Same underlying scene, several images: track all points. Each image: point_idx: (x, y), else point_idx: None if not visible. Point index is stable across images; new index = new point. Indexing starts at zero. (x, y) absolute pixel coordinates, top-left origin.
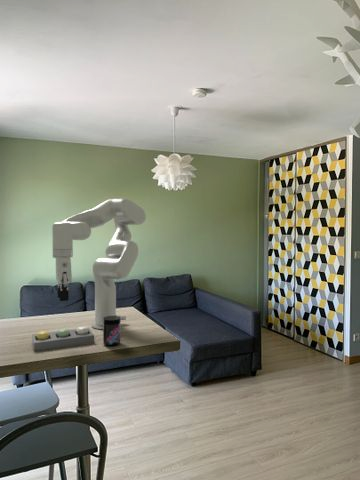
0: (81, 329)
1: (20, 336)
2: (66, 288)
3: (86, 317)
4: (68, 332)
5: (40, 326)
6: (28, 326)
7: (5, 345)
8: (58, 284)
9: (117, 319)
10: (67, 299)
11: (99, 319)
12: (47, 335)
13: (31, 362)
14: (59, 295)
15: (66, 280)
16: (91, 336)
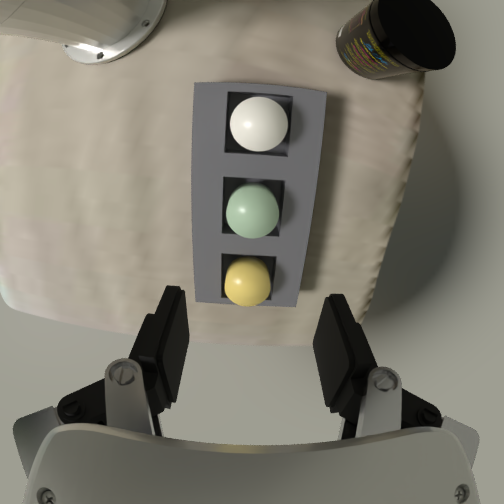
0: (281, 134)
1: (132, 304)
2: (410, 397)
3: (3, 91)
4: (267, 191)
5: (49, 242)
6: (47, 272)
7: (202, 341)
8: (163, 436)
9: (451, 28)
10: (341, 303)
11: (117, 25)
12: (265, 271)
13: (370, 301)
14: (185, 343)
15: (470, 461)
16: (325, 103)
